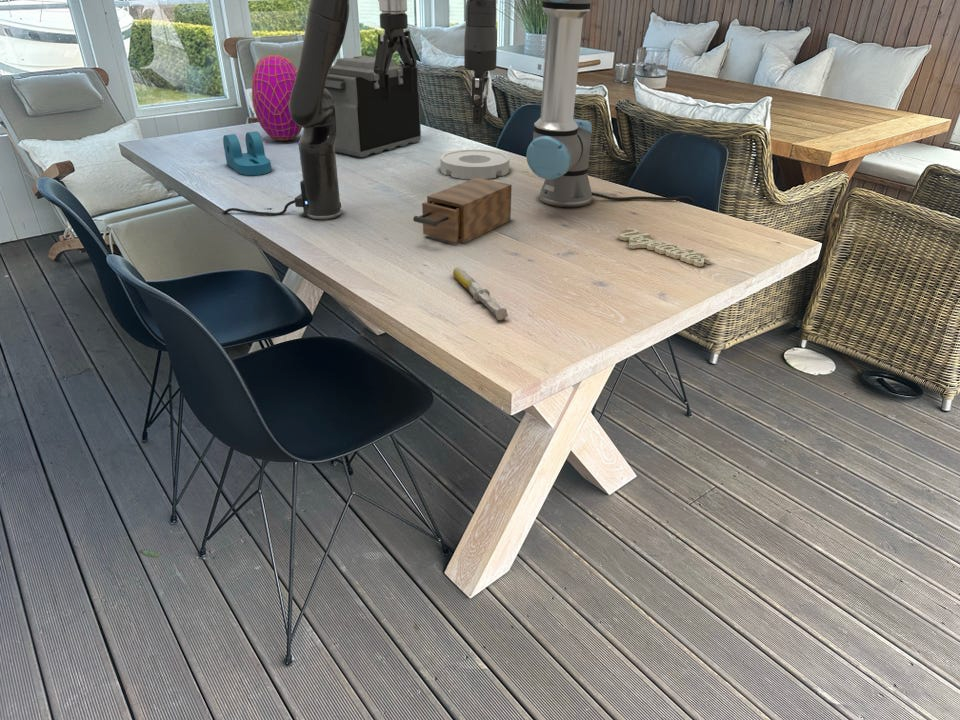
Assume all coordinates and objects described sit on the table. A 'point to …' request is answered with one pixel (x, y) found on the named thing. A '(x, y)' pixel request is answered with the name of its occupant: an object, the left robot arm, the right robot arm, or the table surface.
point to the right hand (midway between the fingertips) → (397, 95)
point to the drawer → (440, 221)
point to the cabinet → (477, 205)
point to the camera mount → (246, 154)
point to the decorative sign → (663, 247)
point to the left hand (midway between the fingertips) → (479, 119)
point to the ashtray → (474, 164)
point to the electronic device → (372, 107)
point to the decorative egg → (274, 96)
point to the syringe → (479, 293)
